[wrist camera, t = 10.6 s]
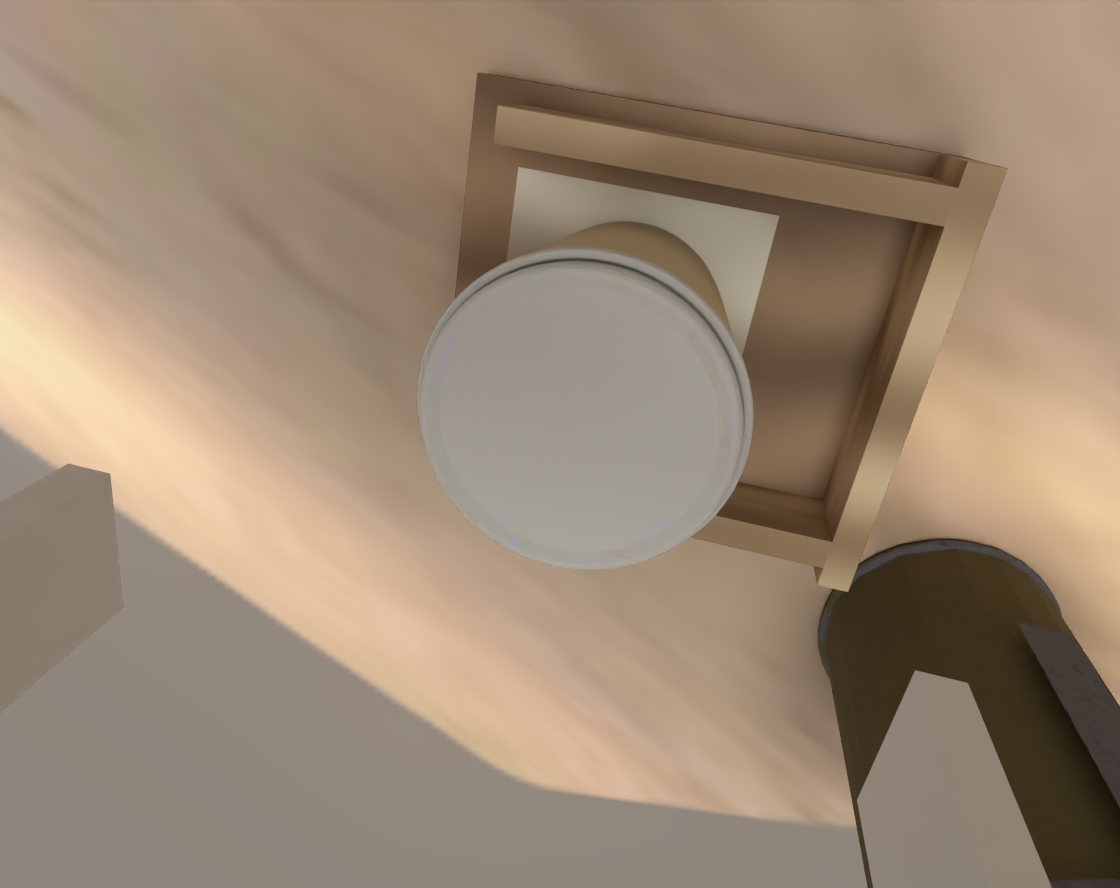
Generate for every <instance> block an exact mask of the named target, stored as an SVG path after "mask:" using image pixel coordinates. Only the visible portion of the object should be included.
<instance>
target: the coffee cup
mask: <svg viewBox="0 0 1120 888" xmlns="http://www.w3.org/2000/svg"><path fill="white" fill-rule="evenodd" d="M417 408H418V419H419V425H420V430H421V435H422V439H423V444H424V448H425V450H426V453H427V456H428V459H429V462H430V464H431V467H432V469H433V472H434V474H435V476H436V478H437V479H438V481H439V483H440V485H441V486H442V488H443V490H444V491H445V493H446V494H447V496H448V497H449V499H450V500H451V501H452V503H453V504H454V505H455V506H456V507H457V509H458V510H459V511H460V512H461V513H462V514H463V515H464V516H465V517H466V518H467V519H468V520H469V521H470V522H471V523H472V524H473V525H474V526H475V527H476V528H478V529H479V530H480V531H481V532H483V533H484V534H485V535H486V536H488V537H489V538H491V539H492V540H494V541H495V542H497V543H498V544H500V545H502V546H504V547H505V548H507V549H509V550H511V551H513V552H515V553H517V554H519V555H522V556H524V557H526V558H529V559H532V560H535V561H538V562H541V563H544V564H548V565H553V566H557V567H563V568H570V569H580V570H601V569H612V568H619V567H626V566H629V565H633V564H637V563H640V562H643V561H646V560H649V559H652V558H654V557H657V556H659V555H661V554H663V553H664V552H666V551H668V550H670V549H672V548H674V547H676V546H678V545H679V544H681V543H683V542H684V541H686V540H687V539H689V538H690V537H692V536H693V535H694V534H696V533H697V532H698V531H699V530H701V529H702V528H703V527H704V526H705V525H706V524H707V523H708V522H709V521H710V520H711V519H712V518H713V517H714V516H715V515H716V514H717V513H718V512H719V510H720V509H721V508H722V507H723V505H724V504H725V503H726V502H727V500H728V498H729V497H730V495H731V494H732V492H733V490H734V489H735V487H736V485H737V483H738V481H739V479H740V476H741V474H742V472H743V469H744V466H745V463H746V460H747V457H748V453H749V448H750V444H751V439H752V430H753V398H752V392H751V385H750V380H749V377H748V373H747V370H746V366H745V363H744V361H743V358H742V356H741V353H740V351H739V349H738V346H737V344H736V342H735V340H734V338H733V335H732V332H731V328H730V325H729V321H728V318H727V315H726V311H725V308H724V305H723V302H722V299H721V296H720V293H719V290H718V287H717V285H716V283H715V281H714V279H713V277H712V275H711V272H710V270H709V269H708V267H707V266H706V264H705V263H704V261H703V260H702V259H701V257H700V256H699V255H698V254H697V253H696V252H695V251H694V250H693V249H692V248H691V247H690V246H689V245H688V244H687V243H685V242H684V241H683V240H681V239H680V238H679V237H677V236H676V235H674V234H672V233H670V232H668V231H666V230H664V229H662V228H659V227H656V226H653V225H649V224H645V223H640V222H630V221H618V222H609V223H604V224H598V225H595V226H592V227H589V228H586V229H583V230H581V231H578V232H576V233H574V234H572V235H569V236H567V237H565V238H563V239H561V240H559V241H557V242H554V243H552V244H550V245H548V246H546V247H544V248H542V249H539V250H537V251H535V252H532V253H529V254H525V255H522V256H519V257H517V258H514V259H512V260H509V261H507V262H504V263H502V264H500V265H499V266H497V267H495V268H493V269H491V270H490V271H488V272H486V273H485V274H483V275H482V276H481V277H479V278H478V279H476V280H475V281H474V282H472V283H471V284H470V285H469V286H468V287H467V288H466V289H465V290H464V291H462V292H461V293H460V294H459V295H458V297H457V298H456V299H455V300H454V301H453V302H452V303H451V305H450V306H449V307H448V308H447V310H446V311H445V313H444V314H443V316H442V317H441V319H440V320H439V322H438V323H437V325H436V327H435V329H434V331H433V333H432V335H431V337H430V339H429V341H428V344H427V346H426V349H425V352H424V354H423V358H422V362H421V366H420V371H419V378H418V386H417Z"/></svg>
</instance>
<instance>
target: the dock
mask: <svg viewBox="0 0 1120 888" xmlns="http://www.w3.org/2000/svg"><path fill="white" fill-rule="evenodd" d="M1007 169H1008V168H1004V167H1000V166H996V165H992V164H989V163H985V162H981V161H977V160H973V159H969V158H965V157H960V156H955V155H949V154H943V153H938V152H932V151H926V150H920V149H915V148H909V147H903V146H898V145H892V144H886V143H880V142H875V141H869V140H863V139H858V138H852V137H846V136H841V135H835V134H829V133H823V132H818V131H812V130H806V129H801V128H795V127H789V126H783V125H778V124H772V123H766V122H761V121H755V120H749V119H743V118H738V117H732V116H726V115H721V114H715V113H709V112H704V111H698V110H692V109H686V108H681V107H675V106H669V105H664V104H658V103H652V102H646V101H641V100H635V99H629V98H624V97H618V96H612V95H607V94H601V93H595V92H589V91H584V90H578V89H572V88H567V87H561V86H555V85H549V84H544V83H538V82H532V81H527V80H521V79H515V78H509V77H504V76H498V75H492V74H485V73H478V74H477V84H476V94H475V104H474V114H473V124H472V134H471V143H470V153H469V163H468V173H467V183H466V193H465V203H464V213H463V222H462V232H461V242H460V252H459V262H458V272H457V282H456V292H455V299H456V298H457V297H458V295H459V294H460V293H461V292H462V291H464V290H465V289H466V288H467V287H468V286H469V285H470V284H471V283H472V282H474V281H475V280H476V279H478V278H479V277H481V276H482V275H483V274H485V273H486V272H488V271H490V270H491V269H493V268H495V267H497V266H499V265H500V264H502V263H504V262H507V261H509V260H512V259H514V258H517V257H519V256H522V255H525V254H529V253H532V252H535V251H537V250H539V249H542V248H544V247H546V246H548V245H550V244H552V243H554V242H557V241H559V240H561V239H563V238H565V237H567V236H569V235H572V234H574V233H576V232H578V231H581V230H583V229H586V228H589V227H592V226H595V225H598V224H604V223H609V222H618V221H630V222H640V223H645V224H649V225H653V226H656V227H659V228H662V229H664V230H666V231H668V232H670V233H672V234H674V235H676V236H677V237H679V238H680V239H681V240H683V241H684V242H685V243H687V244H688V245H689V246H690V247H691V248H692V249H693V250H694V251H695V252H696V253H697V254H698V255H699V256H700V257H701V259H702V260H703V261H704V263H705V264H706V266H707V267H708V269H709V270H710V272H711V275H712V277H713V279H714V281H715V283H716V285H717V287H718V290H719V293H720V296H721V299H722V302H723V305H724V308H725V311H726V315H727V318H728V321H729V325H730V328H731V332H732V335H733V338H734V340H735V342H736V344H737V346H738V349H739V351H740V353H741V356H742V358H743V361H744V363H745V366H746V370H747V373H748V377H749V380H750V385H751V392H752V398H753V430H752V439H751V444H750V448H749V453H748V457H747V460H746V463H745V466H744V469H743V472H742V474H741V476H740V479H739V481H738V483H737V485H736V487H735V489H734V490H733V492H732V494H731V495H730V497H729V498H728V500H727V502H726V503H725V504H724V505H723V507H722V508H721V509H720V510H719V512H718V513H717V514H716V515H715V516H714V517H713V518H712V519H711V520H710V521H709V522H708V523H707V524H706V525H705V526H704V527H703V528H702V529H701V530H699V531H698V532H697V533H696V534H694V535H693V536H692V537H691V538H695V539H700V540H704V541H708V542H713V543H717V544H721V545H726V546H730V547H734V548H739V549H743V550H747V551H751V552H756V553H760V554H764V555H769V556H773V557H777V558H782V559H786V560H790V561H795V562H799V563H803V564H808V565H812V566H814V570H815V575H816V581H817V585H820V586H824V587H828V588H832V589H837V590H841V591H845V592H848V591H849V588H850V586H851V583H852V580H853V578H854V575H855V572H856V570H857V567H858V564H859V562H860V559H861V556H862V554H863V551H864V548H865V546H866V543H867V540H868V538H869V535H870V533H871V530H872V527H873V525H874V522H875V519H876V517H877V514H878V511H879V509H880V506H881V503H882V501H883V498H884V495H885V493H886V490H887V487H888V485H889V482H890V480H891V477H892V474H893V472H894V469H895V466H896V464H897V461H898V458H899V456H900V453H901V450H902V448H903V445H904V442H905V440H906V437H907V434H908V432H909V429H910V426H911V424H912V421H913V419H914V416H915V413H916V411H917V408H918V405H919V403H920V400H921V397H922V395H923V392H924V389H925V387H926V384H927V381H928V379H929V376H930V373H931V371H932V368H933V366H934V363H935V360H936V358H937V355H938V352H939V350H940V347H941V344H942V342H943V339H944V336H945V334H946V331H947V328H948V326H949V323H950V320H951V318H952V315H953V312H954V310H955V307H956V305H957V302H958V299H959V297H960V294H961V291H962V289H963V286H964V283H965V281H966V278H967V275H968V273H969V270H970V267H971V265H972V262H973V259H974V257H975V254H976V252H977V249H978V246H979V244H980V241H981V238H982V236H983V233H984V230H985V228H986V225H987V222H988V220H989V217H990V214H991V212H992V209H993V206H994V204H995V201H996V198H997V196H998V193H999V191H1000V188H1001V185H1002V183H1003V180H1004V177H1005V175H1006V172H1007Z"/></svg>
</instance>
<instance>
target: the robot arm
mask: <svg viewBox="0 0 1120 888" xmlns="http://www.w3.org/2000/svg"><path fill="white" fill-rule="evenodd" d="M122 608H123V598H122V587H121V578H120V567H119V557H118V547H117V537H116V528H115V517H114V507H113V497H112V487H111V477H110V474H109V473H105V472H101V471H97V470H93V469H89V468H84V467H80V466H76V465H72V464H67V465H65V466H63V467H62V468H60V469H58V470H56V471H54V472H53V473H51V474H49V475H48V476H46V477H44V478H42V479H40V480H39V481H37V482H35V483H33V484H32V485H30V486H28V487H26V488H24V489H23V490H21V491H19V492H17V493H16V494H14V495H12V496H10V497H9V498H7V499H5V500H3V501H2V502H0V713H1V712H2V711H3V710H4V709H6V707H8V706H9V705H10V704H11V703H12V702H14V701H15V700H16V699H17V698H18V697H20V696H21V695H22V694H23V693H24V692H25V691H27V690H28V689H29V688H30V687H31V686H32V685H33V684H35V683H36V682H37V681H38V680H39V679H40V678H42V677H43V676H44V675H45V674H46V673H47V672H48V671H50V670H51V669H52V668H53V667H54V666H56V665H57V664H58V663H59V662H60V661H62V660H63V659H64V658H65V657H66V656H67V655H69V654H70V653H71V652H72V651H73V650H74V649H76V648H77V647H78V646H79V645H80V644H81V643H82V642H84V641H85V640H86V639H87V638H88V637H89V636H91V635H92V634H93V633H94V632H95V631H97V629H99V628H100V627H101V626H102V625H103V624H105V623H106V622H107V621H108V620H109V619H110V618H112V617H113V616H114V615H115V614H116V613H117V612H119V611H120V610H121V609H122ZM857 803H858V808H859V814H860V819H861V825H862V830H863V835H864V841H865V846H866V852H867V857H868V862H869V868H870V873H871V879H872V884H873V888H1052V887H1051V885H1050V882H1049V880H1048V877H1047V875H1046V872H1045V870H1044V868H1043V865H1042V863H1041V860H1040V858H1039V855H1038V853H1037V850H1036V848H1035V846H1034V843H1033V841H1032V838H1031V836H1030V833H1029V831H1028V828H1027V826H1026V824H1025V821H1024V819H1023V816H1022V814H1021V811H1020V809H1019V806H1018V804H1017V802H1016V799H1015V797H1014V794H1013V792H1012V789H1011V787H1010V785H1009V782H1008V780H1007V777H1006V775H1005V772H1004V770H1003V767H1002V765H1001V763H1000V760H999V758H998V755H997V753H996V750H995V748H994V745H993V743H992V741H991V738H990V736H989V733H988V731H987V728H986V726H985V723H984V721H983V719H982V716H981V714H980V711H979V709H978V706H977V704H976V702H975V699H974V697H973V694H972V692H971V689H970V687H969V684H968V683H966V682H961V681H957V680H953V679H949V678H945V677H941V676H937V675H933V674H929V673H925V672H920V671H916V670H915V672H914V674H913V676H912V678H911V681H910V683H909V685H908V687H907V690H906V692H905V694H904V696H903V698H902V701H901V703H900V705H899V707H898V710H897V712H896V714H895V716H894V719H893V721H892V723H891V725H890V727H889V730H888V732H887V734H886V736H885V739H884V741H883V743H882V745H881V748H880V750H879V752H878V754H877V757H876V759H875V761H874V763H873V765H872V768H871V770H870V772H869V774H868V777H867V779H866V781H865V783H864V786H863V788H862V790H861V792H860V794H859V797H858V799H857Z"/></svg>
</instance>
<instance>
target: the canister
mask: <svg viewBox="0 0 1120 888" xmlns="http://www.w3.org/2000/svg"><path fill="white" fill-rule="evenodd" d="M818 647H819V652H820V656H821V660H822V664H823V666H824V668H825V670H826V673H827V675H828V677H829V678H830V681H831V687H832V692H833V698H834V703H835V709H836V714H837V720H838V725H839V731H840V736H841V742H842V748H843V753H844V759H845V764H846V770H847V775H848V781H849V786H850V792H851V797H852V803H853V809H854V814H855V820H856V825H857V831H858V836H859V842H860V847H861V853H862V858H863V864H864V870H865V875H866V881H867V886H868V888H873V884H872V879H871V873H870V868H869V862H868V857H867V852H866V846H865V841H864V835H863V830H862V825H861V819H860V814H859V808H858V803H857V799H858V797H859V794H860V792H861V790H862V788H863V786H864V783H865V781H866V779H867V777H868V774H869V772H870V770H871V768H872V765H873V763H874V761H875V759H876V757H877V754H878V752H879V750H880V748H881V745H882V743H883V741H884V739H885V736H886V734H887V732H888V730H889V727H890V725H891V723H892V721H893V719H894V716H895V714H896V712H897V710H898V707H899V705H900V703H901V701H902V698H903V696H904V694H905V692H906V690H907V687H908V685H909V683H910V681H911V678H912V676H913V674H914V672H915V670H916V671H920V672H925V673H929V674H933V675H937V676H941V677H945V678H949V679H953V680H957V681H961V682H966V683H968V684H969V687H970V689H971V692H972V694H973V697H974V699H975V702H976V704H977V706H978V709H979V711H980V714H981V716H982V719H983V721H984V723H985V726H986V728H987V731H988V733H989V736H990V738H991V741H992V743H993V745H994V748H995V750H996V753H997V755H998V758H999V760H1000V763H1001V765H1002V767H1003V770H1004V772H1005V775H1006V777H1007V780H1008V782H1009V785H1010V787H1011V789H1012V792H1013V794H1014V797H1015V799H1016V802H1017V804H1018V806H1019V809H1020V811H1021V814H1022V816H1023V819H1024V821H1025V824H1026V826H1027V828H1028V831H1029V833H1030V836H1031V838H1032V841H1033V843H1034V846H1035V848H1036V850H1037V853H1038V855H1039V858H1040V860H1041V863H1042V865H1043V868H1044V870H1045V872H1046V875H1047V877H1048V880H1049V882H1050V885H1051V887H1052V888H1120V706H1119V705H1118V703H1117V702H1116V700H1115V698H1114V697H1113V695H1112V694H1111V692H1110V691H1109V689H1108V688H1107V686H1106V685H1105V683H1104V681H1103V680H1102V678H1101V677H1100V675H1099V674H1098V672H1097V671H1096V669H1095V668H1094V666H1093V665H1092V663H1091V661H1090V660H1089V658H1088V657H1087V655H1086V654H1085V652H1084V651H1083V649H1082V648H1081V646H1080V644H1079V643H1078V641H1077V640H1076V638H1075V637H1074V635H1073V634H1072V632H1071V631H1070V629H1069V627H1068V626H1067V624H1066V623H1065V621H1064V620H1063V618H1062V615H1061V611H1060V608H1059V605H1058V603H1057V601H1056V599H1055V597H1054V595H1053V593H1052V592H1051V590H1050V589H1049V588H1048V586H1047V585H1046V584H1045V582H1044V581H1043V580H1042V578H1041V577H1040V576H1039V575H1038V574H1036V573H1035V572H1034V571H1033V570H1032V569H1031V568H1029V567H1028V566H1027V565H1026V564H1025V563H1024V562H1022V561H1020V560H1018V559H1016V558H1014V557H1012V556H1010V555H1009V554H1007V553H1005V552H1003V551H1001V550H999V549H996V548H992V547H988V546H984V545H980V544H976V543H971V542H964V541H955V540H934V541H926V542H920V543H914V544H908V545H902V546H899V547H896V548H894V549H891V550H889V551H886V552H884V553H881V554H879V555H876V556H874V557H873V558H871V559H869V560H868V561H866V562H864V563H863V564H861V565H860V566H859V567H857V570H856V572H855V575H854V578H853V580H852V583H851V586H850V588H849V591H848V592H845V591H841V590H837V589H834V590H833V591H832V593H831V596H830V598H829V600H828V602H827V604H826V607H825V610H824V613H823V616H822V619H821V622H820V626H819V629H818Z"/></svg>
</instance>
